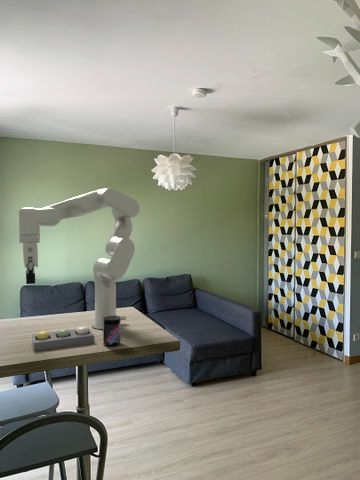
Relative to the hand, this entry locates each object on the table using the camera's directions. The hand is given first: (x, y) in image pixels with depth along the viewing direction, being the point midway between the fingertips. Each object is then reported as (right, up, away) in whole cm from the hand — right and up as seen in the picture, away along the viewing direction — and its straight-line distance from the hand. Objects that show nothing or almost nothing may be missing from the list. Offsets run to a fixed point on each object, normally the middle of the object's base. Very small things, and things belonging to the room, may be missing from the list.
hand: (30, 281), depth 139 cm
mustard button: (+7, -22, -4) cm, 23 cm away
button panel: (+13, -24, -1) cm, 27 cm away
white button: (+20, -22, +2) cm, 30 cm away
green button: (+13, -22, -1) cm, 25 cm away
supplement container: (+33, -25, -2) cm, 41 cm away
